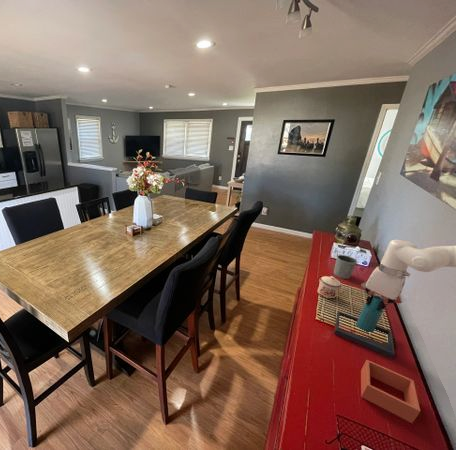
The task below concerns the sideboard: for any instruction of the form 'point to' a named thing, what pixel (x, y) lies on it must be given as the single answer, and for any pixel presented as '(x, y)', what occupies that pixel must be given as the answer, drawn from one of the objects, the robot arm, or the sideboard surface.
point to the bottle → (370, 315)
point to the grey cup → (344, 266)
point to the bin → (385, 400)
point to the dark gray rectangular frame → (366, 342)
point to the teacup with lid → (330, 287)
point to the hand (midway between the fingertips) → (374, 306)
